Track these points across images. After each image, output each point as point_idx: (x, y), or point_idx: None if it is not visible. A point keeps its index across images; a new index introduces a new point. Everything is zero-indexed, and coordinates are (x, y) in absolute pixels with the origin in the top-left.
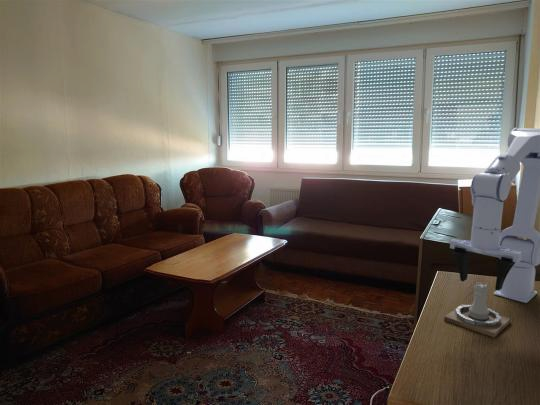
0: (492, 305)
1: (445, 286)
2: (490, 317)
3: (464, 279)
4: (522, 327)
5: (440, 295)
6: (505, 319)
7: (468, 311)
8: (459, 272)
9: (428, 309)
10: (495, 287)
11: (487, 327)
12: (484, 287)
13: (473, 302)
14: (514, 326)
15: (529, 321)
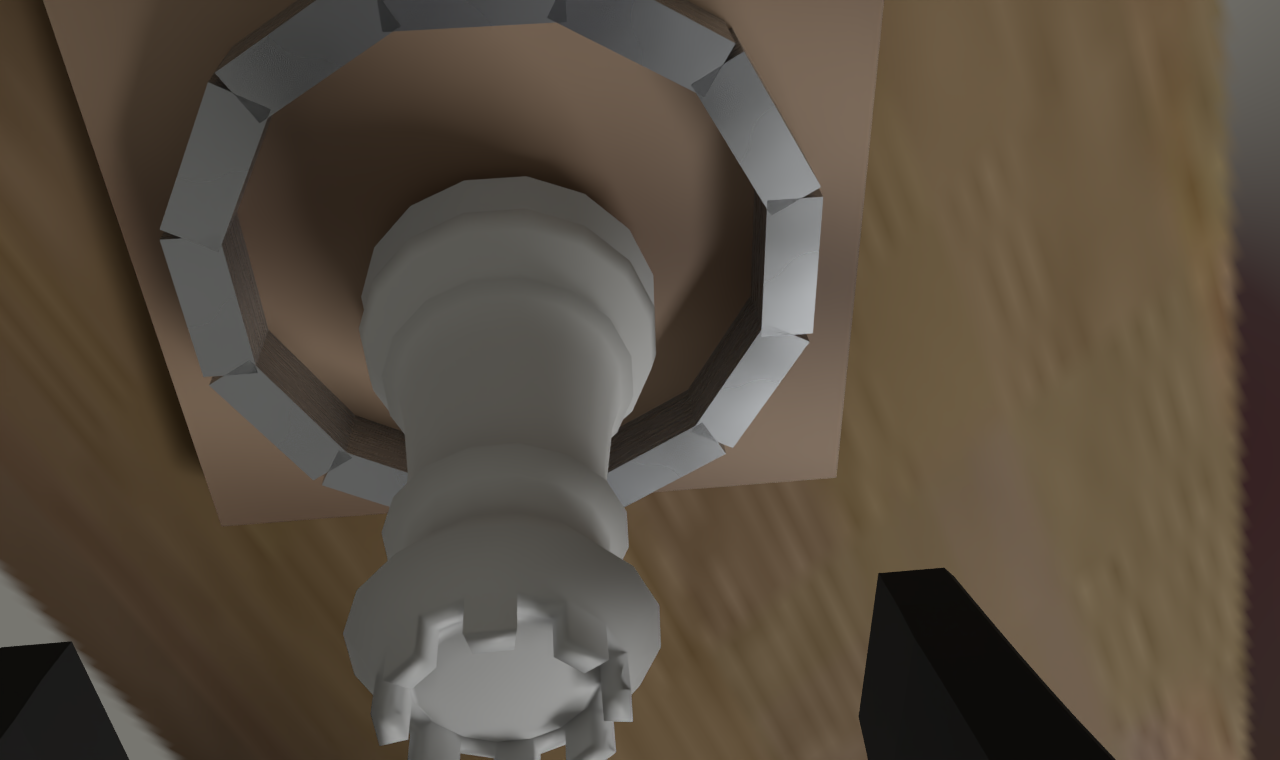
0: None
1: (1145, 746)
2: None
3: (882, 650)
4: (74, 478)
5: (1142, 545)
6: (239, 463)
7: (682, 338)
8: (1082, 729)
9: (1192, 65)
10: (37, 690)
11: (223, 50)
12: (395, 645)
13: (590, 371)
14: (141, 438)
15: (135, 644)
